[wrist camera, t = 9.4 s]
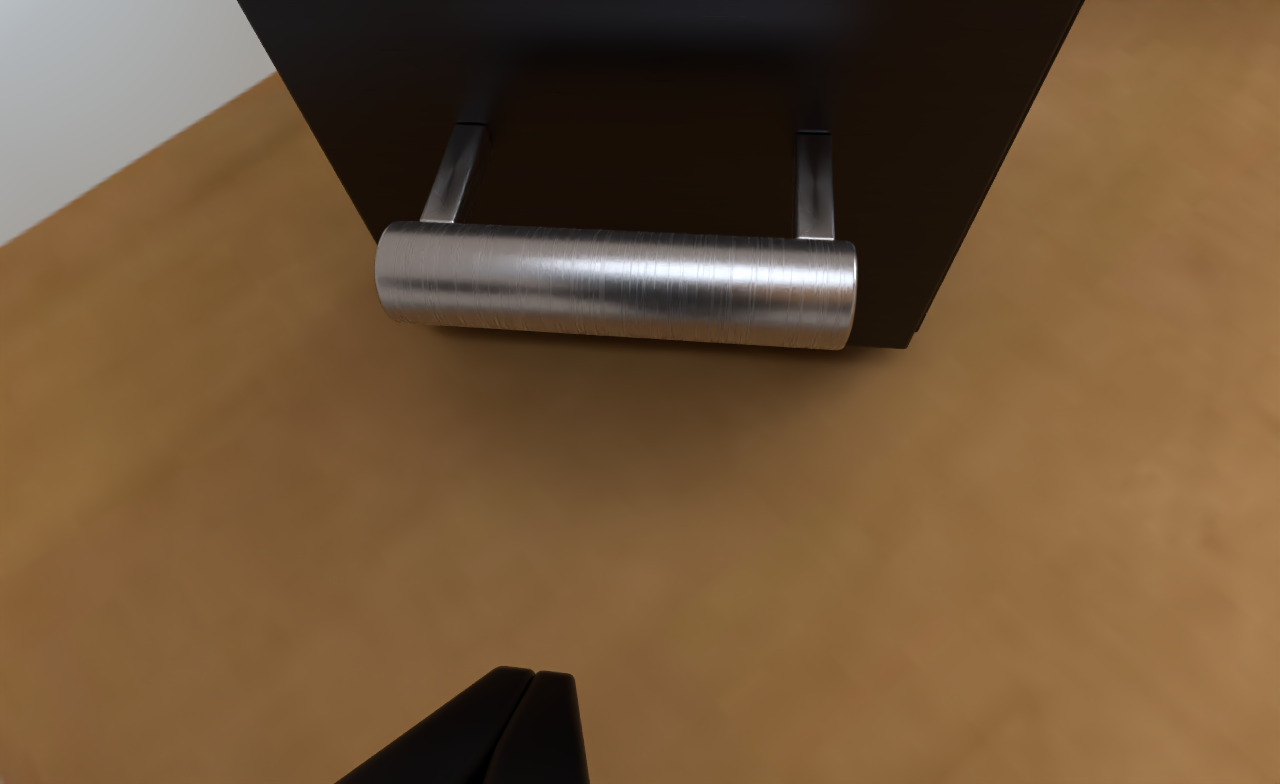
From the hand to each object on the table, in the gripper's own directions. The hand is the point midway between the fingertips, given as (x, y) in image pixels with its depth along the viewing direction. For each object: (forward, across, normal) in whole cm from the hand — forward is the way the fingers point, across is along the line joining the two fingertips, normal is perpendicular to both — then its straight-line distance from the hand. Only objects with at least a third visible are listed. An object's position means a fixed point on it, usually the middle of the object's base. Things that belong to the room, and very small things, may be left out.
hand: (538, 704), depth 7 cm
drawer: (+15, 0, -6) cm, 16 cm away
